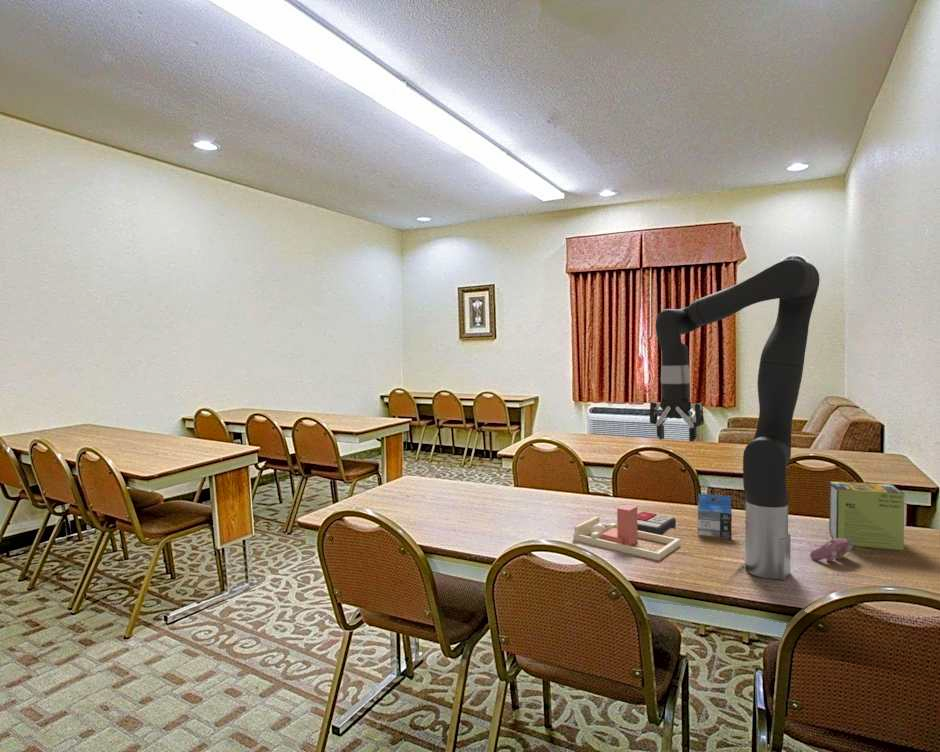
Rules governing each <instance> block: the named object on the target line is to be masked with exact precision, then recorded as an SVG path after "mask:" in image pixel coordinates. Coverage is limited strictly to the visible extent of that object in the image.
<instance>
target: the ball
mask: <svg viewBox="0 0 940 752" xmlns="http://www.w3.org/2000/svg"><path fill="white" fill-rule="evenodd" d="M593 532H600V539H602V534H603V533H605V532H607V531H606V528H605V526H604V525H602V524H595V525H594V526H593V528H592V533H593Z"/></svg>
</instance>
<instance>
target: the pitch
mask: <svg viewBox="0 0 940 752" xmlns="http://www.w3.org/2000/svg"><path fill="white" fill-rule="evenodd" d="M595 524H602V525H604V526H605V528H606V532H607V531H609V530H611V529H613V528H617V522H616V523H615V522H610V523H609V524H608V523H605V522H600V516H597V515H596V516H594V517H591V518H590V519H587V520H585V521H583V522H581V523H579V524H577V525H574V533H573V534H572V535H573V536H572V538H573V541H575V542H579V543H584V544H589V545H591V546H592V545H593V546H596V547H601V548H605V549H609V550H613V551H618V552H622V553H626V554H629V555H634V556H639V557H643V558H646V559H650V560H655V561H660V560H662V559H663V558H665V557H666V556H668V555H669V554H670V553H671V552H673V551H674V550H676V549H677V548H679V547H680V546H681V539H680V538H676V537H671V536H667V535H666V536H665V535H661V534H660V535H657V534H653V533H648V532H643V531H638V538H639V539H643V540H649V541H653V542H657V543H662V544H666V545H664V546H663V547H662V548H660V549H659V550H657V551H653V550H649V549H645V548H640V547H636V546H633V545H632V546H628V545H623V544H619V543H615V542H610V541H606V540H602V538H600V532H593V533H592V528H593V526H594V525H595ZM589 535H590V536H589Z"/></svg>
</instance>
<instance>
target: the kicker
mask: <svg viewBox="0 0 940 752" xmlns="http://www.w3.org/2000/svg"><path fill="white" fill-rule="evenodd" d="M616 509H617V510H616V515H617V516H616V519H617V522H616V524H617V528H613V529H611V530H609V531H606V532H605V533H603V534H602V538H601V539H602V540H606V541H610V542H615V543H619V544H623V545H628V546H632V547H633V546H634V545H635V544H637V543H638V540H639V539H638V530H637V514H638V506H637V505H631V504H627V503H626V504H624V505H621V506H618V507H617V508H616Z"/></svg>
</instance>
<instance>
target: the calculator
mask: <svg viewBox="0 0 940 752" xmlns="http://www.w3.org/2000/svg"><path fill="white" fill-rule="evenodd" d="M676 521H677V520H676V518H675V517H674V516H672V515H665V514H660V513H659V514H657V513H653V512H649V511H648V512H647V511H641V512H639V513H637V530H638V531H643V532H648V533H653V534H657V535H661V534H663V533H664V532H665V531H667V530H668V529H669V528H670V529H673V528H674V527H675V526H676V523H677V522H676ZM676 527H677V526H676ZM676 527H675V528H676ZM675 528H674V529H675Z"/></svg>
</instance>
